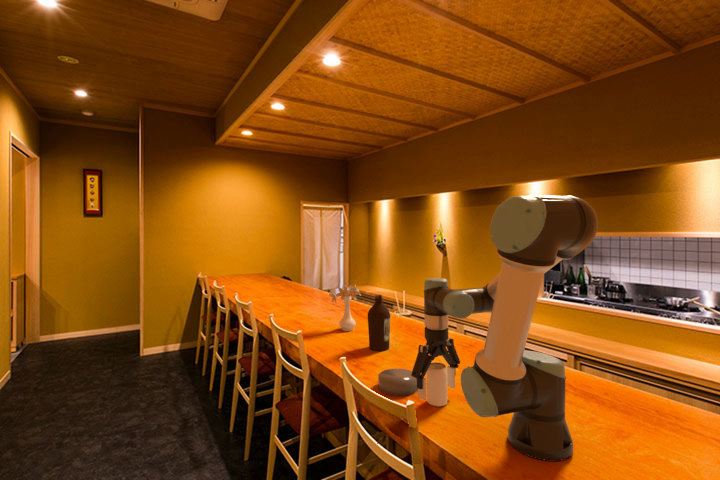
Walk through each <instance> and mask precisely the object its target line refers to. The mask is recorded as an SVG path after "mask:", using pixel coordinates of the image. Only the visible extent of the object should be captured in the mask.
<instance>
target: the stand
mask: <svg viewBox="0 0 720 480" xmlns="http://www.w3.org/2000/svg"><path fill="white" fill-rule="evenodd" d="M412 371H413V370H410V369H405V368H389V369H384V370H381V372H379V373H378V377H377V379H378V380H377V381H378V389H379V391H380V392H381V393H383V394H386V395H388V396H393V397H394V396H395V397H405V396H406V397H407V396H410V395H413V394H416V393H418V388H417V378H415V377H412V376H411V374H412Z"/></svg>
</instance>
